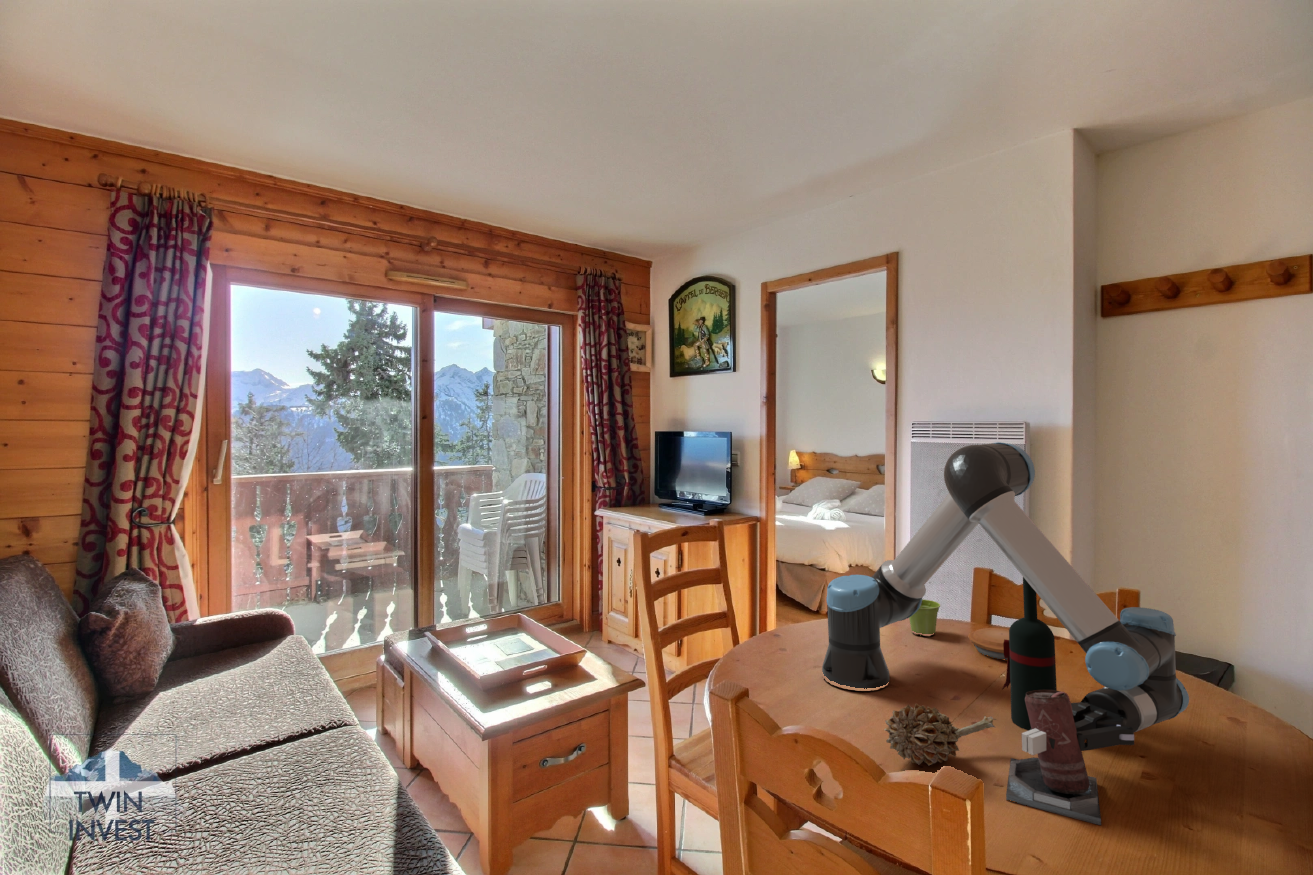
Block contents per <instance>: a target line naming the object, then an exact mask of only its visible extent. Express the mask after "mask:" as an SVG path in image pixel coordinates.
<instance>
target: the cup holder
mask: <svg viewBox="0 0 1313 875" xmlns="http://www.w3.org/2000/svg"><path fill="white" fill-rule="evenodd" d="M1008 768H1009V769H1008V770H1009V771H1008V775H1007V776H1008V777H1007V778H1008V779H1007V784H1006V792H1005V796H1006V797H1005V799H1006V800H1005V801H1007V800H1011V801H1015V802H1017V803H1016V804H1019V805H1022V806H1026V805H1027V807H1030V808H1035V809H1038V810H1042V811H1045V812H1050V813H1052V814H1056V815H1060V816H1064V817H1066V818H1067V817H1068V818H1072V819H1075V820H1079V821H1082V822H1086V823H1090V824H1095V825H1099V826H1102V816H1101V809H1100V799H1099V798H1100V797H1099V790H1098V780H1097V779H1098V778H1097V777H1094V776H1090V775H1088V779H1089V783H1090V786H1089V789H1088V791H1086V792H1084V793H1080V794H1066V793H1060V792H1056V791H1053V790H1051V789H1049V788H1048V787H1047V786H1046V784H1045V783H1044V780H1043V776H1042V771H1041V767H1040V763H1039V759H1038V757H1028V758H1021V759H1017V758H1013V757H1010V761H1009V767H1008ZM1011 801H1010V802H1011ZM1015 802H1014V803H1015Z"/></svg>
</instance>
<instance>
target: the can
mask: <svg viewBox="0 0 1313 875" xmlns="http://www.w3.org/2000/svg"><path fill="white" fill-rule="evenodd" d="M1025 703H1026V707H1027V711H1028V716H1029V720H1030V724H1031V728H1032V729H1035V728H1036V729H1038V730H1040V731H1042V732H1045V733H1046V751H1043V752H1041V753H1038V754H1037V758H1038V759H1039V763H1040V767H1041V771H1042V776H1043V780H1044V783H1045V784H1046V786H1047V787H1048V788H1049V789H1051V790H1053V791H1056V792H1060V793H1066V794H1080V793H1084V792H1086V791H1088V789H1089V786H1090V783H1089V779H1088V776H1089V775H1088V771H1087V768H1086V763H1085V759H1084V754H1083V751H1081V750H1080V747H1079V743H1078V739H1077V735H1076V733H1077V730H1076V726H1075V722H1074V718H1073V712H1072V706H1071V703H1072V702H1071V700H1070V696H1069V695H1068V693H1067V692H1064V691H1060V690H1057V691H1056V690H1034V691H1029V692H1027V693H1026V697H1025ZM1049 738H1051V739H1054V740H1055V746H1054V749H1052V748H1051V745H1050V741H1049Z"/></svg>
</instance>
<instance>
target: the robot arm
mask: <svg viewBox="0 0 1313 875" xmlns="http://www.w3.org/2000/svg"><path fill="white" fill-rule="evenodd" d="M1035 475H1036V470H1035V464H1034V462H1033V460H1032V458H1031V456H1030V455H1029V454H1028V453H1027V452H1026V451H1025V450H1024V449H1022V448H1021V447H1020V446H1017V445H1015V444H1012V443H1006V442H999V441H997V442H992V443H984V444H970V445H965V446H964V447H961V448H959V449H957V450H956V451H954V452H953V453H952V454H951V455H950V456H949V457H948V458H947V461H946V462H945V465H944V468H943V480H944V484H945V487H946V489H947V491H948V494H947V495H946V496H945V497H944V499H943V500H942V501H941V502H940V504H939V505H938V506H937V507H936V508H935V510H934V511H933V512H931V515H930V516H929V517H928V518H927V519H926V520H925V522H924V523H923V524H922V525H921V526H920V528H919V529H918V530H917V532H916V533H915V534H913V537H911V539H910V540H909V541H908V543H907V544H906V545H904V547H903V548H902V550H901V551H900V552H899V553H898V555H897V556H896V558H894V559H890V560H889V559H887V560H885V561H883V562H882V564H881V565H880V566H879V567H878V569H877V570H876V571H874V574H873V575H871V576H869V575H864V574H850V575H842V576H838V577H836V578H833V579H832V580H831V581H830V582H829V583H828V585H827V587H826V588H827V589H826V608H827V612H826V613H827V629H828V630H827V632H828V646H827V649H826V652H825V657H824V659H823V662H822V666H821V673H822V672H823V674H824V676H826V677H827V678H828V679H829V680H830V681H834V682H836V683H838V684H840V685H846V686H850V687H855V688H864V689H865V688H866V689H867V688H876V687H880V686H883V685H886V684H887V683H888V682H889V680H891V678H890V677H891V676H890V670H889V668H888V664H887V663H886V660H885V657H884V654H883V651H882V649H881V648H882V647H881V630H880V629H881V628H883V627H886V626H889V625H892V624H895V623H896V622H902V621H905V620H906V619H909V617H911V616H912V615H913V614H915V613H916V612H917V611H918V609H919V608H920V606H921V603H922V599H923V597H924V596H926V592H927V588H926V584H927V582H928V581H929V580H930V579H931V578H932V577H933V576H934V575H935V573H936V572H938V570H939V569H940V568H941V567H942V565H943V564H944V563H945V562H946V561H947V560H948V559H949V558H950V557H951V556H952V554H954V552H955V551H956V550H957V549H958V548H959V546H960V545H961V544H962V543H963V542H964V541H965V540H966V539H967V538H968V536H969V535H970V534H971V533H972V532H973V531H974V530H975V528H976V527H977V526H978V525H980V526H981V528H982V529H983V530H984V531H985V533H986V534H987V535H988V536H989V538H991V539H992V541H993V542H994V543H995V544H996V546H997V548H999V549H1000V551H1002V553H1003V554H1004V556H1005V557H1006V558H1007V559H1008V560H1009V561H1010V563H1011V564H1012V565H1013V566H1014V568H1015V569H1016V570H1017V571H1018V572H1019V574H1020V575H1021V576H1022V578H1023V577H1024V578H1025V580H1026V581H1027V582H1028V583H1029V584H1030V586H1031V587H1032V588H1033V589H1034V590H1035V592H1036V594H1037V595H1038V597H1039V598H1040V599H1041V600H1042V601H1043V603H1044V604H1045V605H1046V606H1047V607H1048V609H1049V610H1050V611H1051V612H1052V614H1053V615H1054V616H1055V617H1056V618H1057V619H1058V621H1059V622H1060V623H1061V624H1062V626H1064V628H1065V630H1067V632H1068V633H1069V634H1070V635H1071V636H1072V637H1073V639H1074V640H1075V641H1076V643H1077V644H1078V645H1079V647H1080V648H1081V649H1082V650H1083V652H1084V653H1085V654H1086V655H1085V658H1084V660H1085V661H1084V662H1085V666H1086V669H1087V672H1088V673H1089V675H1090V676H1091V677H1092V678H1093V679H1094V680H1095V681H1096V683H1098V684H1100V685H1101V686H1103V687H1102V688H1099V689H1096V690H1093V691H1090V692H1089V693H1087V694H1086V695H1084V697H1083V698H1082V700H1081V701H1080V702H1071V706H1072V712H1073V718H1074V722H1075V726H1076V730H1077V733H1076V735H1077V739H1078V743H1079V747H1080V750H1081V751H1082V752H1086V751H1091V750H1097V749H1105V748H1108V747H1115V746H1134V745H1135V733H1136V732H1139V731H1141V730H1144V729H1147V728H1148V727H1152V726H1154V725H1156V724H1160V723H1162V722H1165V721H1169V720H1171V719H1174V718H1176V717H1178V715H1179V714H1181V713H1183V712H1184V711H1185V710H1186V709H1187V708H1188V706H1189V703H1190V696H1189V692H1188V691H1187V689H1186V688H1185V685H1184V684H1183V683H1182V681H1181V680H1179V678H1177V669H1176V639H1175V638H1176V636H1177V634H1176V632H1175V625H1174V618H1173V617H1172V616H1171V615H1170V614H1168V613H1167V612H1165V611H1162V610H1159V609H1155V608H1150V607H1149V608H1147V607H1138V606H1137V607H1136V606H1131V607H1125V608H1123V609H1122V610H1121V611H1120V613H1119V618H1118V617H1117V616H1116V614H1114V613H1113V611H1112V610H1110V608H1109V607H1108V606H1107V605H1106V604H1105V603H1104V601H1103V600H1102V599H1101V598H1100V596H1098V595H1097V593H1096V592H1095V591H1094V590H1093V589H1092V588H1091V587H1090V585H1089V584H1088V583H1087V582H1086V581H1085V580H1084V578H1083V577H1081V575H1080V574H1079V573H1078V572H1077V571H1076V569H1075V568H1074V567H1073V566H1072V565H1071V564H1070V562H1069V561H1068V560H1067V559H1066V558H1065V557H1064V555H1063V554H1061V552H1060V551H1059V550H1058V549H1057V548H1056V547H1055V545H1054V544H1053V543H1052V542H1051V541H1050V540H1049V539H1048V537H1047V536H1045V534H1044V532H1042V531H1041V529H1039V527H1038V526H1037V525H1036V524H1035V523H1034V521H1033V520H1032V519H1031V518H1030V517H1029V516H1028V515H1027V514H1026V512H1024V510H1023V509H1022V508H1021V507H1020V506H1019V505H1018V503H1017V502H1016V501H1015V497H1018V496H1020V495H1022V494H1023V493H1025V492H1027V491H1028V490H1029V489H1030V488H1031V486H1033V483H1034V480H1035V477H1036V476H1035ZM1049 741H1050V745H1051V748H1052V749H1054V746H1055V740H1054V739H1051V738H1049ZM1021 750H1022V751H1023V752H1025V753H1028V754H1029V755H1031V756H1035V755H1038V753H1041V752H1043V751H1046V733H1045V732H1042V731H1040V730H1038V729H1036V728H1035V729H1032V728H1030V730H1026V731H1023V732H1021Z"/></svg>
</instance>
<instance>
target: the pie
mask: <svg viewBox="0 0 1313 875" xmlns="http://www.w3.org/2000/svg"><path fill="white" fill-rule="evenodd" d="M1009 629H1010V628H1009ZM1009 629H1008V628H1003V627H1002V628H1001V627H985V628H979V629H976V630H974V631H971V632H969V634H968V635H967V636H968V640H970V642H971V643H972V644H973V646H975V648H976V650H977V651H978V653H980V654H981V653H982V654H981V655H983V654H984V655H983V656H985V655H988V656H990V657H993V658H992V659H994V658H997V659H996V660H998V659H1005V660H1008V658H1005V657H1004V646H1003V643H1004V639H1005V640H1009ZM990 657H989V658H990ZM1005 660H1004V661H1005Z"/></svg>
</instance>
